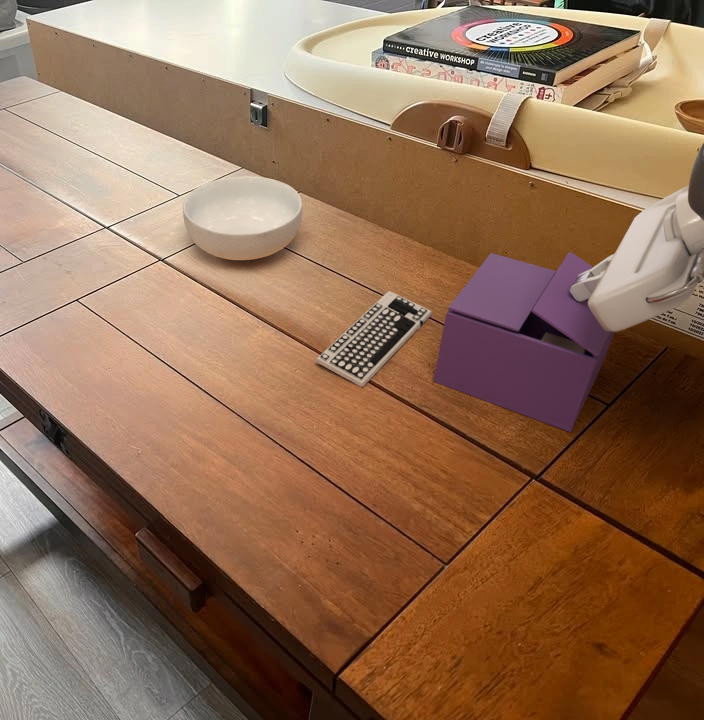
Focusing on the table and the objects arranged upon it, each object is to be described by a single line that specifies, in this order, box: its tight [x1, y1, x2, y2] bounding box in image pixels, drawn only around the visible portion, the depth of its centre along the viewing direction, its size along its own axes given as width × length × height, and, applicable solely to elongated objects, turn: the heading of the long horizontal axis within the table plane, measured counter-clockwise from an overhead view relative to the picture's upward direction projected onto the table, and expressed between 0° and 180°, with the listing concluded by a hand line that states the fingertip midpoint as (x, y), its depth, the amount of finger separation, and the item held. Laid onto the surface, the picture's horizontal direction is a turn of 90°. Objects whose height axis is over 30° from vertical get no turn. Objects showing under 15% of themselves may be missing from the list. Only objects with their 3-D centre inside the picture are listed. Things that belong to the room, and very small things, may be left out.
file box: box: [432, 252, 615, 433], centre depth 83 cm, size 15×13×10 cm
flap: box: [532, 251, 609, 357], centre depth 77 cm, size 7×13×1 cm, turn 146°
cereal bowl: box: [182, 175, 303, 261], centre depth 107 cm, size 17×17×7 cm
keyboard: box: [315, 290, 433, 388], centre depth 91 cm, size 17×6×2 cm, turn 142°
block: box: [541, 332, 586, 355], centre depth 83 cm, size 4×4×4 cm
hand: (576, 289), depth 77 cm, fingers closed
